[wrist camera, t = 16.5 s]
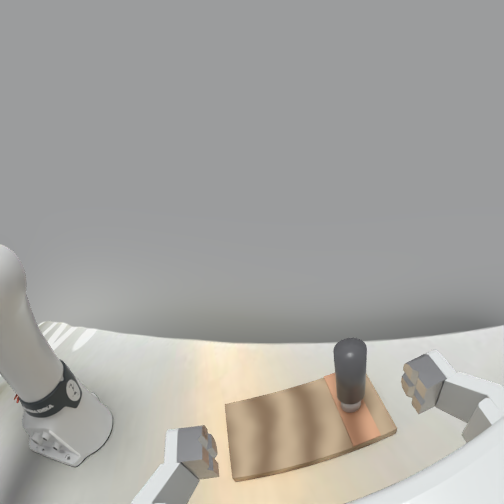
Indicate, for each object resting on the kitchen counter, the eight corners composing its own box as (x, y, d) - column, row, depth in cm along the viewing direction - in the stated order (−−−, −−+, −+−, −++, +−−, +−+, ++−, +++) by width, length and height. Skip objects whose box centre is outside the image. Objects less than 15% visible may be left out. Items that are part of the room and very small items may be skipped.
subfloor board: (235, 481, 31) (231, 477, 31) (227, 409, 44) (224, 403, 43) (395, 433, 32) (397, 427, 31) (360, 370, 45) (360, 363, 44)
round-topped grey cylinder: (342, 419, 35) (340, 366, 31) (333, 399, 39) (329, 344, 34) (368, 409, 35) (372, 354, 31) (358, 390, 39) (358, 334, 34)
